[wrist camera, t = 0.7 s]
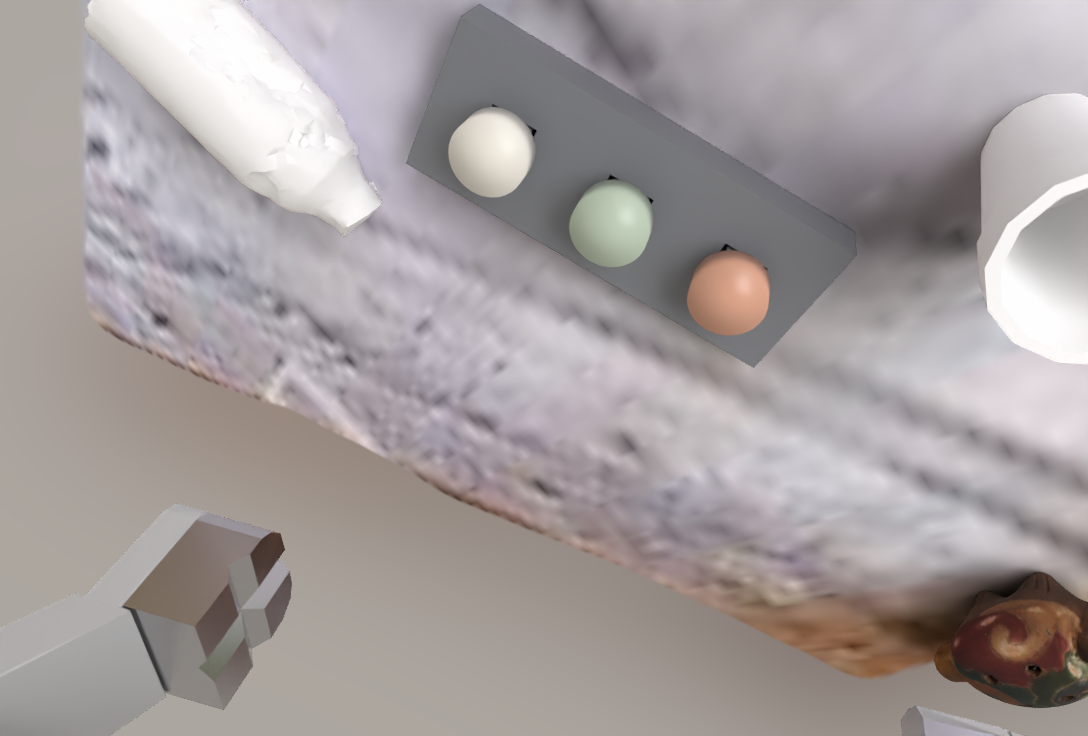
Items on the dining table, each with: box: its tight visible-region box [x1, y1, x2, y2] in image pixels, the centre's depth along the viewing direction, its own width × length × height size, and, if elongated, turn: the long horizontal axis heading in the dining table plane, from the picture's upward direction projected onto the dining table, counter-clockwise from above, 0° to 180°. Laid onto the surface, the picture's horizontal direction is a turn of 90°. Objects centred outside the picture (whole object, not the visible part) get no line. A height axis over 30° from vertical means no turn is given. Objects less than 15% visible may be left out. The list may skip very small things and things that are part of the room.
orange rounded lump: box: [687, 244, 770, 335], centre depth 47 cm, size 5×5×5 cm
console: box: [406, 4, 857, 368], centre depth 48 cm, size 10×26×3 cm, turn 64°
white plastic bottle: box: [84, 0, 383, 237], centre depth 49 cm, size 8×19×8 cm, turn 43°
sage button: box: [569, 177, 654, 267], centre depth 47 cm, size 5×5×5 cm
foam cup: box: [977, 93, 1088, 364], centre depth 37 cm, size 10×9×13 cm
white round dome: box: [448, 107, 536, 197], centre depth 46 cm, size 5×5×5 cm
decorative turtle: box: [934, 572, 1088, 708], centre depth 58 cm, size 10×15×8 cm, turn 150°
